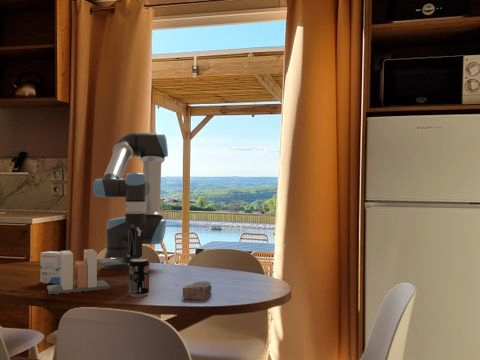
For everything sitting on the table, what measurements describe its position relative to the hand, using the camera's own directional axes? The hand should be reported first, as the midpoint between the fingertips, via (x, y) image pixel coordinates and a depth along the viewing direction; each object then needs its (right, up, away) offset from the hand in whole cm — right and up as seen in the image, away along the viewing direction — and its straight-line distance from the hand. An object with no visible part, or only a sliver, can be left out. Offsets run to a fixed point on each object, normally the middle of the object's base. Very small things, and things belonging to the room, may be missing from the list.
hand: (134, 273), depth 162 cm
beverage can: (+6, -3, -18) cm, 20 cm away
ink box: (-32, -4, +1) cm, 32 cm away
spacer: (-17, -2, -9) cm, 20 cm away
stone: (+26, -4, -20) cm, 33 cm away
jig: (-18, -3, -10) cm, 21 cm away
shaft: (-7, +3, -4) cm, 8 cm away
